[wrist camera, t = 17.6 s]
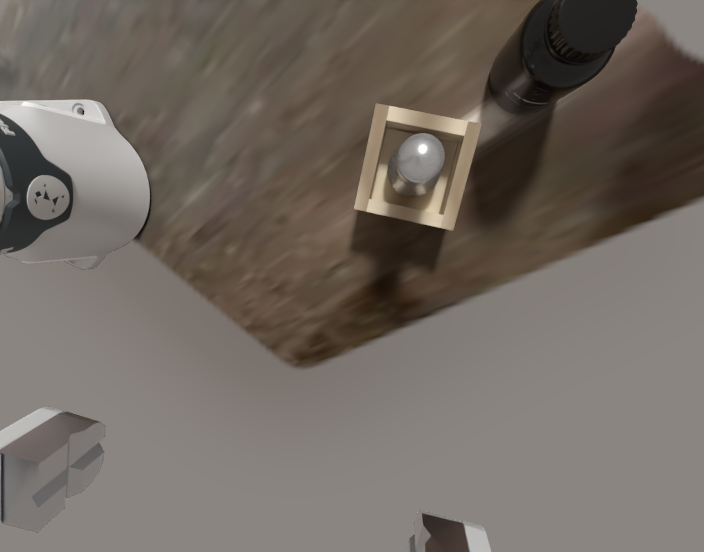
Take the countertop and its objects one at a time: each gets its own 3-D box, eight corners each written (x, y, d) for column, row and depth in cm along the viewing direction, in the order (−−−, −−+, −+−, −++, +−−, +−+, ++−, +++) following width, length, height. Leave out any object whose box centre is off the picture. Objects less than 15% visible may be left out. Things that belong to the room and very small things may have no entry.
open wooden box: (358, 208, 38) (353, 208, 34) (378, 115, 36) (376, 103, 32) (445, 227, 37) (453, 230, 33) (471, 134, 35) (482, 124, 31)
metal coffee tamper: (382, 191, 36) (378, 185, 26) (394, 140, 35) (394, 112, 25) (431, 202, 36) (447, 200, 25) (444, 151, 35) (466, 127, 24)
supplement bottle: (497, 127, 35) (550, 87, 23) (480, 54, 34) (526, -24, 22) (571, 101, 34) (665, 46, 22) (555, 26, 33) (645, -73, 21)
